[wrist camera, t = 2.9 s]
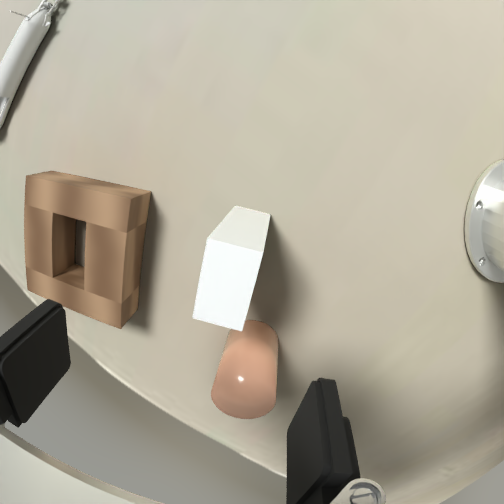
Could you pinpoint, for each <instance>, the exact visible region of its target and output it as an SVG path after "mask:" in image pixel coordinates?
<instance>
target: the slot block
mask: <svg viewBox="0 0 504 504" xmlns="http://www.w3.org/2000/svg"><path fill="white" fill-rule="evenodd" d="M150 197H151V191H147V190H142V189H137V188H133V187H128V186H124V185H119V184H114V183H110V182H105V181H100V180H95V179H90V178H86V177H81V176H76V175H71V174H66V173H60V172H55V171H48V172H43V173H37V174H32V175H27V176H26V185H25V208H24V239H25V263H26V277H27V288H28V290H29V291H31V292H33V293H35V294H37V295H39V296H42V297H44V298H46V299H51V300H53V301H56V302H58V303H60V304H62V306H64V307H66V308H69V309H71V310H74V311H76V312H78V313H81V314H83V315H86V316H88V317H91V318H93V319H96V320H98V321H101V322H103V323H106V324H109V325H111V326H114V327H117V328H119V329H121V328H122V327H123V326H124V325H125V323H126V322H127V321H128V320H129V319H130V317H131V316H132V315H133V314H134V313H135V312H136V310H137V309H138V299H139V286H140V275H141V265H142V256H143V247H144V239H145V231H146V224H147V216H148V210H149V203H150ZM76 219H78V220H82V221H85V222H86V238H85V267H83V266H80V265H77V264H75V233H76Z"/></svg>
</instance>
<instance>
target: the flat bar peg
mask: <svg viewBox="0 0 504 504" xmlns="http://www.w3.org/2000/svg"><path fill="white" fill-rule="evenodd" d="M270 215H271V214H268V213H264V212H260V211H256V210H252V209H248V208H244V207H240V206H236V205H235V206H234V207H233V209H232V210H231V211H230V212H229V213H228V214H227V216H226V217H225V218H224V219H223V220H222V221H221V223H220V224H219V225H218V226H217V227H216V229H215V230H214V231H213V232H212V233H211V234H210V236H209V237H208V238H207V243H206V248H205V253H204V258H203V263H202V268H201V274H200V279H199V284H198V290H197V295H196V301H195V307H194V312H193V318H194V319H198V320H201V321H205V322H209V323H212V324H216V325H219V326H223V327H227V328H231V329H235V330H238V331H242V330H243V326H244V323H245V319H246V315H247V312H248V308H249V304H250V300H251V297H252V293H253V289H254V286H255V282H256V278H257V275H258V271H259V267H260V263H261V260H262V256H263V252H264V247H265V242H266V236H267V231H268V226H269V221H270Z"/></svg>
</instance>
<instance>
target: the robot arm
mask: <svg viewBox="0 0 504 504" xmlns="http://www.w3.org/2000/svg"><path fill="white" fill-rule="evenodd" d="M464 230H465V242H466V247H467V252H468V255H469V257H470V260H471V262H472V264H473V265H474V267H475V268H476V270H478V271H479V272H480V273H481V274H482V275H483V276H484V277H486V278H487V279H489V280H491V281H494V282H498V283H504V159H503V160H499V161H497V162H495V163H494V164H492V165H490V166H489V167H488V168H487V169H486V170H485V171H484V172H483V173H482V175H481V176H480V178H479V179H478V180H477V182H476V184H475V186H474V188H473V190H472V192H471V196H470V199H469V202H468V205H467V210H466V216H465V229H464ZM70 363H71V361H70V353H69V345H68V336H67V326H66V314H65V310H64V309H63V306H62V304H60V303H58V302H56V301H53V300H51V299H47V300H46V301H44V302H43V303H42V304H40V305H39V306H38V307H37V308H35V309H34V310H33V311H31V312H30V313H29V314H28V315H26V316H25V317H24V318H23V319H21V320H20V321H19V322H18V323H16V324H15V325H14V326H13V327H12V328H10V329H9V330H8V331H7V332H6V333H4V334H3V335H2V336H1V337H0V504H164V503H161V502H158V501H155V500H151V499H148V498H145V497H142V496H139V495H137V494H134V493H131V492H128V491H126V490H123V489H120V488H118V487H115V486H113V485H110V484H108V483H105V482H103V481H101V480H99V479H96V478H94V477H92V476H90V475H87V474H85V473H83V472H81V471H79V470H77V469H75V468H73V467H71V466H69V465H67V464H65V463H63V462H61V461H59V460H57V459H56V458H54V457H52V456H50V455H48V454H46V453H45V452H43V451H41V450H40V449H38V448H36V447H34V446H33V445H31V444H29V443H27V442H26V441H25V440H23V439H22V438H20V437H18V436H17V435H15V434H14V433H12V432H11V431H9V430H8V429H6V428H5V422H6V421H7V420H8V421H9V422H11V423H12V424H13V425H15V426H17V427H19V426H20V425H21V424H22V423H26V422H27V421H28V419H29V418H30V417H31V415H32V414H33V413H34V412H35V410H36V409H37V408H38V406H39V405H40V404H41V403H42V402H43V400H44V399H45V398H46V396H47V395H48V394H49V393H50V392H51V390H52V389H53V388H54V387H55V385H56V384H57V383H58V382H59V380H60V379H61V378H62V377H63V376H64V374H65V373H66V372H67V371H68V369H69V367H70ZM385 502H386V495H385V492H384V490H383V489H382V487H381V486H380V485H379V484H378V483H376V482H375V481H372V480H370V479H365V478H361V477H360V472H359V466H358V461H357V456H356V450H355V445H354V440H353V435H352V430H351V425H350V421H349V419H348V418H347V417H343V416H342V411H341V406H340V401H339V396H338V391H337V386H336V382H335V380H330V379H324V378H319V379H318V380H317V381H312V382H311V384H310V386H309V388H308V390H307V392H306V394H305V396H304V399H303V401H302V402H301V404H300V406H299V408H298V410H297V412H296V414H295V416H294V418H293V420H292V422H291V424H290V426H289V428H288V432H287V504H385Z"/></svg>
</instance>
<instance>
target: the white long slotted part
mask: <svg viewBox="0 0 504 504" xmlns="http://www.w3.org/2000/svg"><path fill="white" fill-rule="evenodd" d="M46 1H47V0H43V1H42V2H41V4H40V5H39V7H38V8H37V9H36V10H35V11H33V12H32V13H30V14H29V15H28V16H25V15H22V14H19V13H16V12H13V11H10V12H13V13H16V14H19V15H22V16H25V17H26V18H25V19H24V20H23V22H22V24H21V25H20V27H19V29H18V31H17V32H16V34H15V36H14V38H13V40H12V42H11V44H10V45H9V47H8V49H7V51H6V53H5V55H4V57H3V59H2V61H1V63H0V114H1V116H0V128H1V126H2V125H3V123H4V120H5V118H6V115H7V113H8V110H9V108H10V105H11V103H12V100H13V98H14V96H15V93H16V91H17V89H18V86H19V84H20V82H21V80H22V78H23V76H24V74H25V72H26V70H27V68H28V66H29V64H30V62H31V60H32V58H33V56H34V54H35V52H36V50H37V49H38V47H39V45H40V43H41V41H42V40H43V38H44V36H45V35H46V33H47V31H48V30H49V27H50V24H51V14H52V12H53V10H54V9H55V7H56V6H57V5H58V2H59V0H55V1H56V2H55V3H54V4H53V5H52V4H51V3H50V2H48V3H47V2H46ZM43 6H44V7H43ZM6 99H7V101H6ZM5 102H6V103H5ZM4 104H5V106H4ZM3 107H4V108H3ZM2 109H3V111H2ZM1 112H2V113H1Z"/></svg>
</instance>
